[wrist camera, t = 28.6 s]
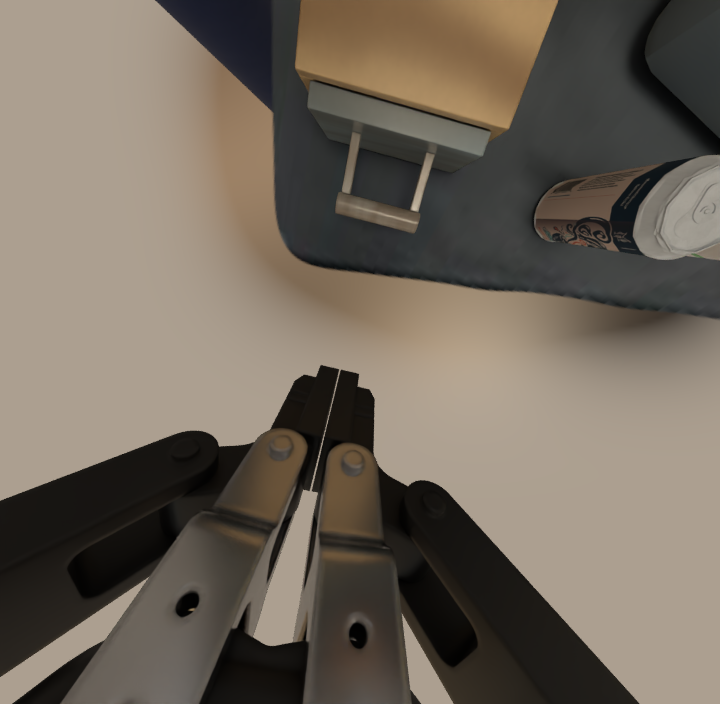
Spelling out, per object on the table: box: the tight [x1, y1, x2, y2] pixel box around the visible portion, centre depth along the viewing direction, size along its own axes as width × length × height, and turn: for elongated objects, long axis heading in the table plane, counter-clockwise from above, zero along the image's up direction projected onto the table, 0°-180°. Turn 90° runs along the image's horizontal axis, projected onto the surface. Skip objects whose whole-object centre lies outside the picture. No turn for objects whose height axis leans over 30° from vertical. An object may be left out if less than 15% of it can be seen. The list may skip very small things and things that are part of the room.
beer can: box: [534, 155, 720, 260], centre depth 18 cm, size 5×5×12 cm
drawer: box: [307, 80, 491, 233], centre depth 17 cm, size 18×10×7 cm, turn 167°
